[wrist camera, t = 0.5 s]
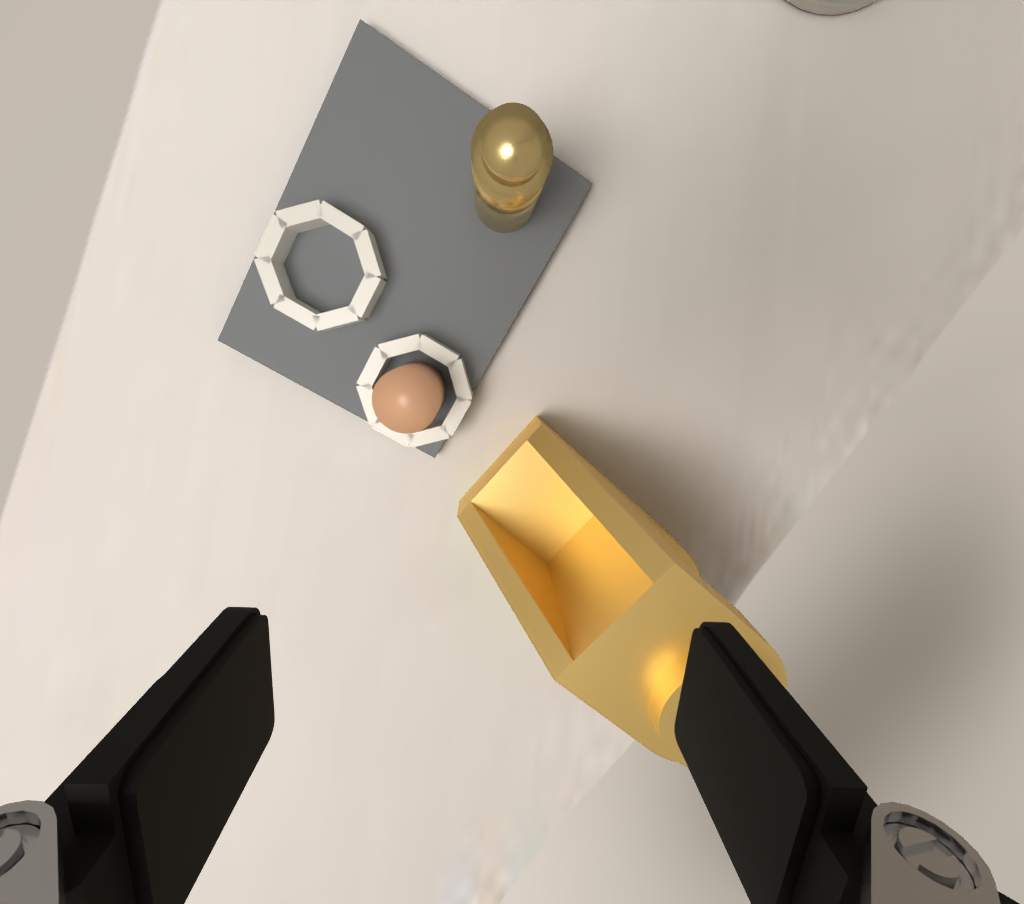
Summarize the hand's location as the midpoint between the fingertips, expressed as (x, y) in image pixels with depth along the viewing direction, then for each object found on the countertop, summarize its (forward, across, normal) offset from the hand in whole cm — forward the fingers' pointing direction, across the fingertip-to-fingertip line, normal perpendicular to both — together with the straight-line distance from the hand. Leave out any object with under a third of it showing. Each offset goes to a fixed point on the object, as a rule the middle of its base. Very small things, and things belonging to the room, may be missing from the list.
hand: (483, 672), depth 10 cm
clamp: (+28, -9, +9) cm, 30 cm away
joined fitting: (+26, +5, -3) cm, 27 cm away
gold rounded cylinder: (+26, 0, -16) cm, 30 cm away
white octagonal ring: (+26, +11, -10) cm, 30 cm away
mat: (+27, +6, -11) cm, 30 cm away
